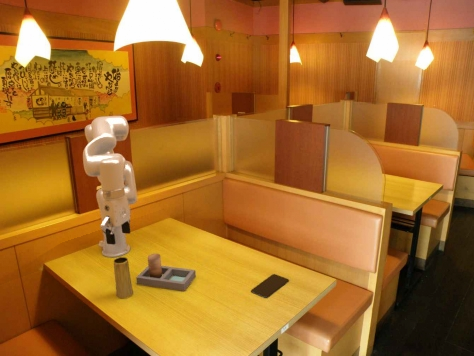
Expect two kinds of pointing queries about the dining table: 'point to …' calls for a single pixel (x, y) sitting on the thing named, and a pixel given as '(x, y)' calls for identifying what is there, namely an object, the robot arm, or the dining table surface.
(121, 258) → the vase
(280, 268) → the dining table surface
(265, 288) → the smartphone
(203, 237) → the dining table surface
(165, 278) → the slot rack
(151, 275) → the walnut peg
